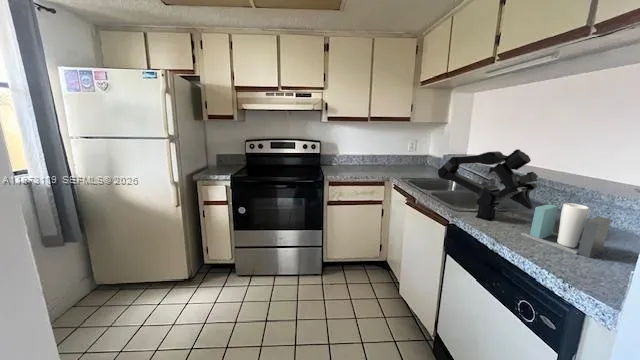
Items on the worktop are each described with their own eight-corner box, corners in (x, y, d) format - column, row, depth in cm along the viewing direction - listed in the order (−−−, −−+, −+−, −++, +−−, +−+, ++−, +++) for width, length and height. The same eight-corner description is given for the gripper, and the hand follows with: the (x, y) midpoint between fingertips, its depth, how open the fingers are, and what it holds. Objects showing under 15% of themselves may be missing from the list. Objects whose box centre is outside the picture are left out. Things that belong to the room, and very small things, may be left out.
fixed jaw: (521, 234, 106) (527, 205, 103) (537, 230, 111) (543, 202, 108) (587, 258, 88) (597, 224, 86) (603, 251, 93) (612, 218, 91)
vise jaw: (529, 236, 104) (535, 207, 101) (543, 232, 108) (549, 204, 106) (538, 239, 101) (545, 209, 99) (551, 235, 106) (558, 206, 103)
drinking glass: (580, 245, 97) (590, 206, 94) (577, 251, 93) (588, 210, 90) (555, 239, 102) (564, 201, 99) (552, 244, 98) (561, 205, 95)
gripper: (511, 166, 104) (538, 201, 97) (536, 164, 112) (563, 196, 105) (487, 181, 112) (510, 215, 105) (513, 178, 121) (536, 209, 113)
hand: (531, 208), depth 107 cm, fingers closed
